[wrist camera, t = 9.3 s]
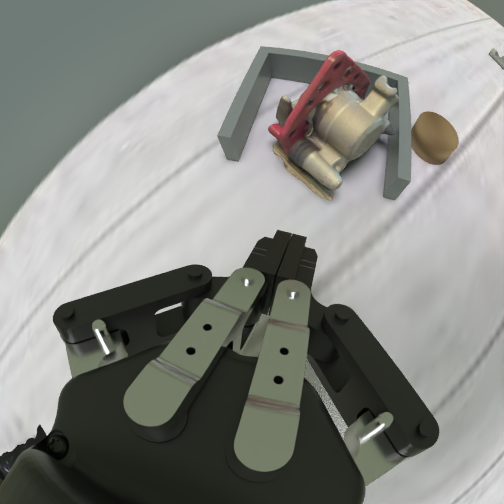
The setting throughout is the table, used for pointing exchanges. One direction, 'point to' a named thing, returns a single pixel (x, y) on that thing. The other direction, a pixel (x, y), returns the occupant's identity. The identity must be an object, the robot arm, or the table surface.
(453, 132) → the tan rounded lump
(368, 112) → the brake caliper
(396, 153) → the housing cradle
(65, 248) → the table surface
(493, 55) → the robot parts
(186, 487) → the robot arm
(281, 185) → the table surface
